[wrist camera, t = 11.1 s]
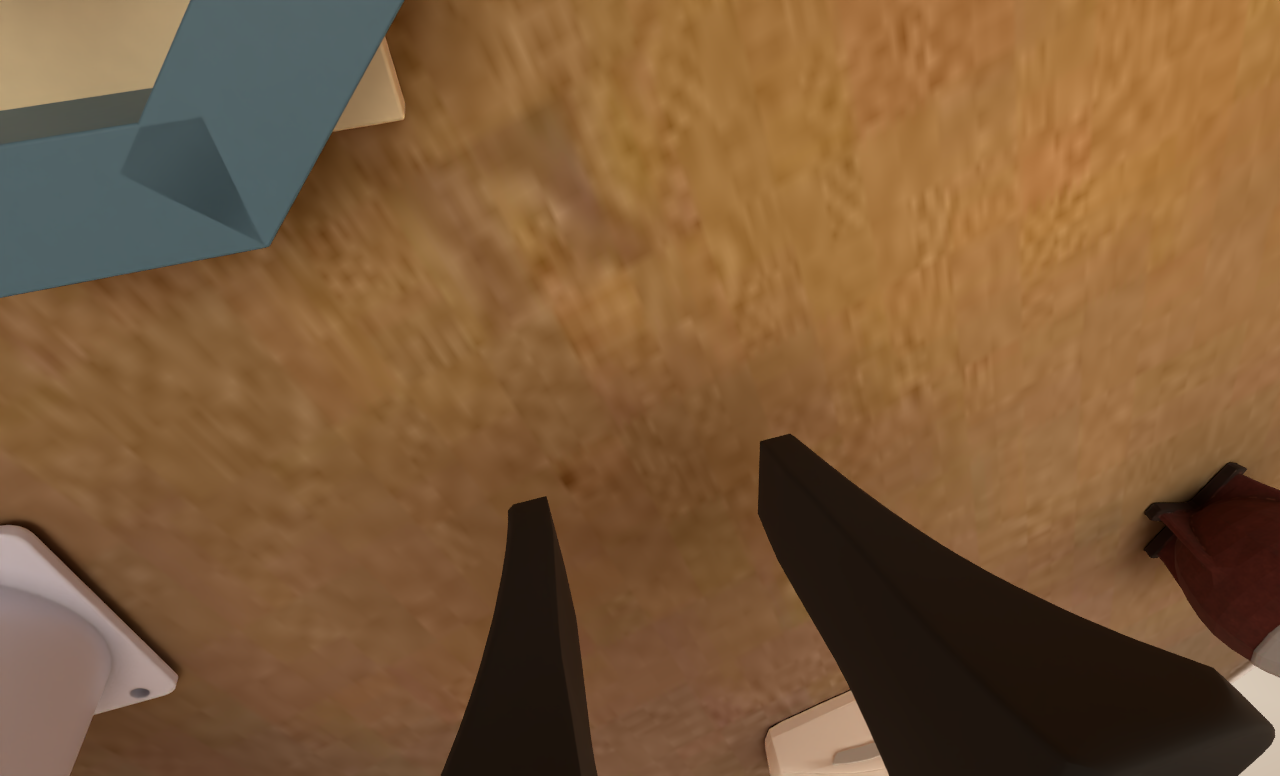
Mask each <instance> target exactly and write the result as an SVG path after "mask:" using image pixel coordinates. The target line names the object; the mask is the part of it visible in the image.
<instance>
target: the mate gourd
mask: <svg viewBox="0 0 1280 776" xmlns="http://www.w3.org/2000/svg"><path fill="white" fill-rule="evenodd" d="M1246 470H1247V469H1246V468H1245V467H1243V466H1240V465H1238V464H1237V463H1229V464H1227V465H1226V466H1225V467H1224V468H1223V469H1222V470H1221V471H1220V472H1219V473H1218V474H1217V475H1216V476H1215V477H1214V478H1213V479H1212V480H1211V481H1210V482H1209V483H1208V484H1207V485H1206V486H1205V487H1204V488H1203V489H1202V490H1201V491H1200V492H1199V493H1198V494H1197V495H1196V496H1195V497H1194V498H1193V499H1192V500H1191V501H1189V502H1187V503H1154V504H1153V505H1151V506H1150V507H1149V509H1148V510H1147V511H1146V512H1145V515H1146V516H1147V517H1148V518H1149V519H1150V520H1152V521H1162V522H1163V523H1164V524H1165V525H1166V527H1165V528H1164V529H1163V530H1162V531H1161V532H1160V533H1159V534H1158V535H1157V536H1156V537H1155V539H1154V540H1153V541H1152V542H1151V543H1150V544H1149V545H1148V546H1147V547H1146V548H1145V549H1144V551H1146V552H1147V554H1148V555H1149V556H1150V558H1158V557H1160V559H1161V560H1162V561H1163V562H1164V564H1165V565H1166V567H1167V568H1168V569H1169V571H1170V572H1171V574H1172V575H1173V577H1174V578H1175V580H1176V581H1177V583H1178V584H1179V586H1180V587H1181V588H1182V590H1183V592H1184V594H1185V596H1186V598H1187V600H1188V602H1189V603H1190V605H1191V606H1192V608H1193V609H1194V611H1195V612H1196V614H1197V615H1198V617H1199V618H1200V619H1201V621H1202V622H1203V623H1204V624H1205V625H1206V626H1207V628H1208V629H1209V630H1210V631H1211V632H1212V633H1213V634H1214V635H1215V636H1216V637H1217V638H1218V639H1220V640H1221V641H1222V642H1223V643H1225V644H1226V645H1227V646H1228V647H1230V648H1231V649H1232V650H1234V651H1235V652H1237V653H1239V654H1240V655H1242V656H1243V657H1245V658H1247V659H1248V660H1250V661H1251V663H1252V664H1253V665H1255V666H1257V667H1259V668H1260V669H1262V670H1264V671H1266V672H1268V673H1270V674H1273V675H1275V676H1278V677H1280V490H1278V489H1275V488H1273V487H1270V486H1268V485H1265V484H1262V483H1260V482H1258V481H1255V480H1253V479H1251V478H1249V477H1246V476H1244V475H1243V473H1244V472H1245V471H1246Z"/></svg>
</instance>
